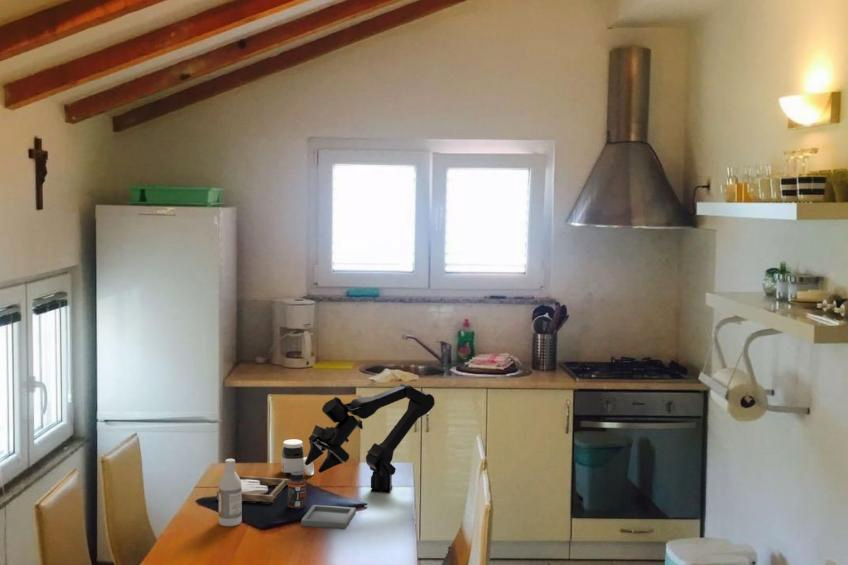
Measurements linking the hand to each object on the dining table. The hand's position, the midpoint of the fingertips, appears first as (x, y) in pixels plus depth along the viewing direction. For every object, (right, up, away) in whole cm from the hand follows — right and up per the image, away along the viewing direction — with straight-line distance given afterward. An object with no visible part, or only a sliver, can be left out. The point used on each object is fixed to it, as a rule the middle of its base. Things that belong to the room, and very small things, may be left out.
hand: (312, 468), depth 303 cm
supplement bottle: (-5, -12, -2) cm, 13 cm away
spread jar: (-9, -9, +32) cm, 34 cm away
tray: (+7, -14, -13) cm, 20 cm away
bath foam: (-23, -14, -17) cm, 32 cm away
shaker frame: (-21, -10, +10) cm, 26 cm away
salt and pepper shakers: (-22, -11, +10) cm, 26 cm away
